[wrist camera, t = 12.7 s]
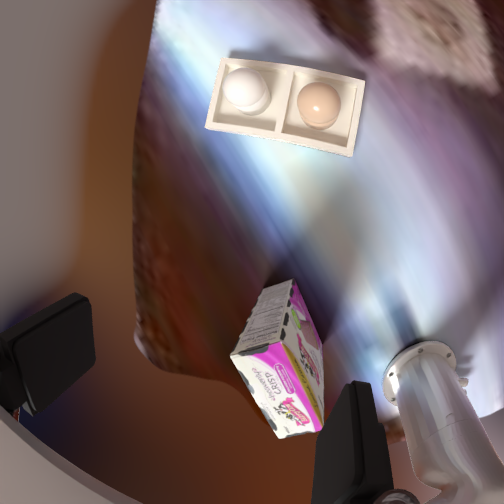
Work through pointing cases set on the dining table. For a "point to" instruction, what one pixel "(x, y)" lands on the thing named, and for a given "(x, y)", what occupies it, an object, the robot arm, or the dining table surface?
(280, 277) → the dining table surface
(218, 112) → the caddy
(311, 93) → the brown egg
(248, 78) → the white egg
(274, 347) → the candy bar box
